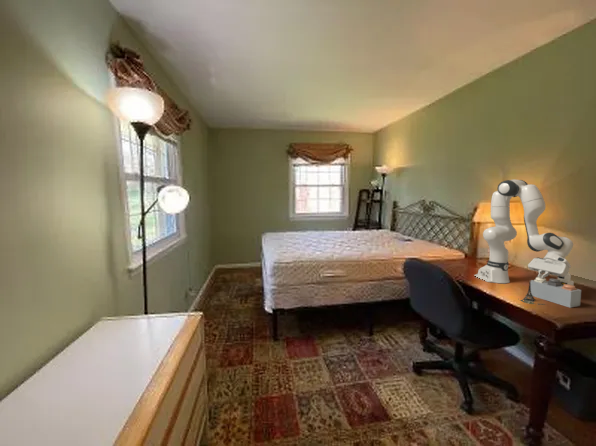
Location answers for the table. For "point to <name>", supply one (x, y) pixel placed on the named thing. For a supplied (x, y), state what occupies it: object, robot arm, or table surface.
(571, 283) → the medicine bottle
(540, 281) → the button cream
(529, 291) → the eiffel tower figurine
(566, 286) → the button terracotta
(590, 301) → the table surface
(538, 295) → the button console
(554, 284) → the button charcoal
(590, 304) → the table surface
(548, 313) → the table surface
